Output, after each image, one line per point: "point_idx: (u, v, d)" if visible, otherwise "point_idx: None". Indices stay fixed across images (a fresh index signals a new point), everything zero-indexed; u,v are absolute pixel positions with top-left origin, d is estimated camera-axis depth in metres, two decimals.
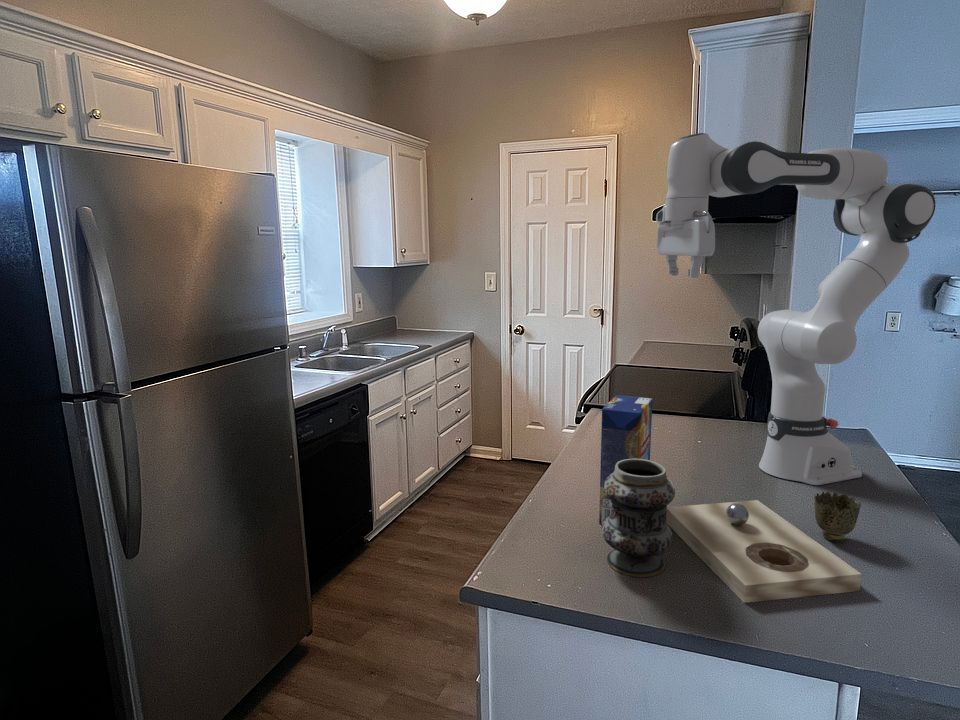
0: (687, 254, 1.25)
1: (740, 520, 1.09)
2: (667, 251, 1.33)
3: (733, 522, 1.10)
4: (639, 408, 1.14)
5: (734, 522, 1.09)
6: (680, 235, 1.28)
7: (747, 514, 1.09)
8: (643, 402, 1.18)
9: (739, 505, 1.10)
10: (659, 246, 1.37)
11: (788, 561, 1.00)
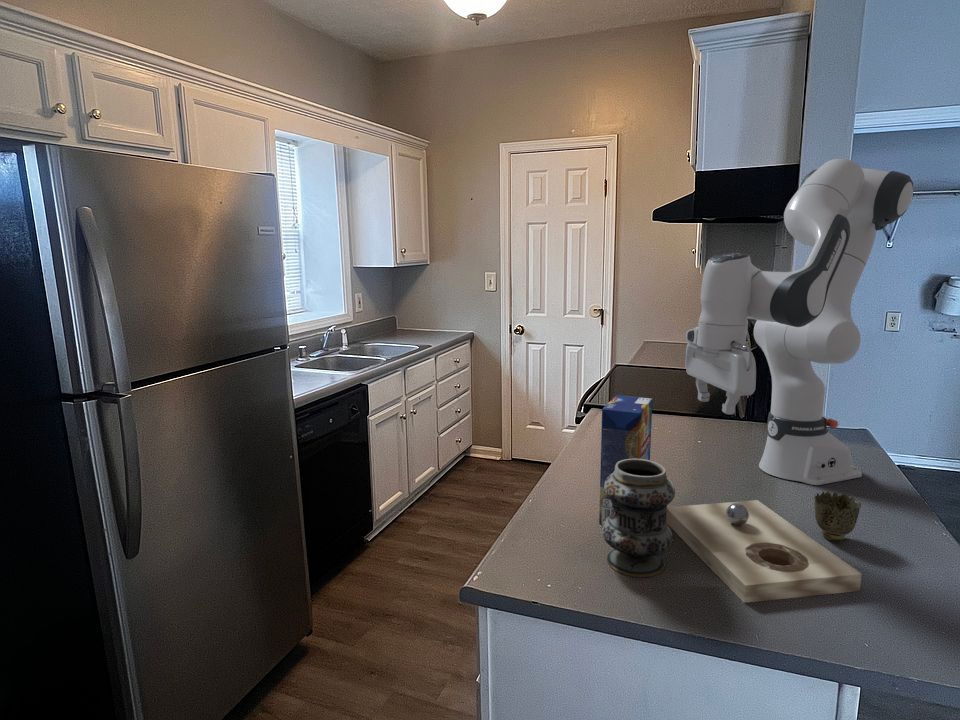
0: (722, 388, 1.10)
1: (740, 520, 1.09)
2: (697, 375, 1.19)
3: (733, 522, 1.10)
4: (639, 408, 1.14)
5: (734, 522, 1.09)
6: (714, 363, 1.13)
7: (747, 514, 1.09)
8: (643, 402, 1.18)
9: (739, 505, 1.10)
10: (688, 366, 1.23)
11: (788, 561, 1.00)
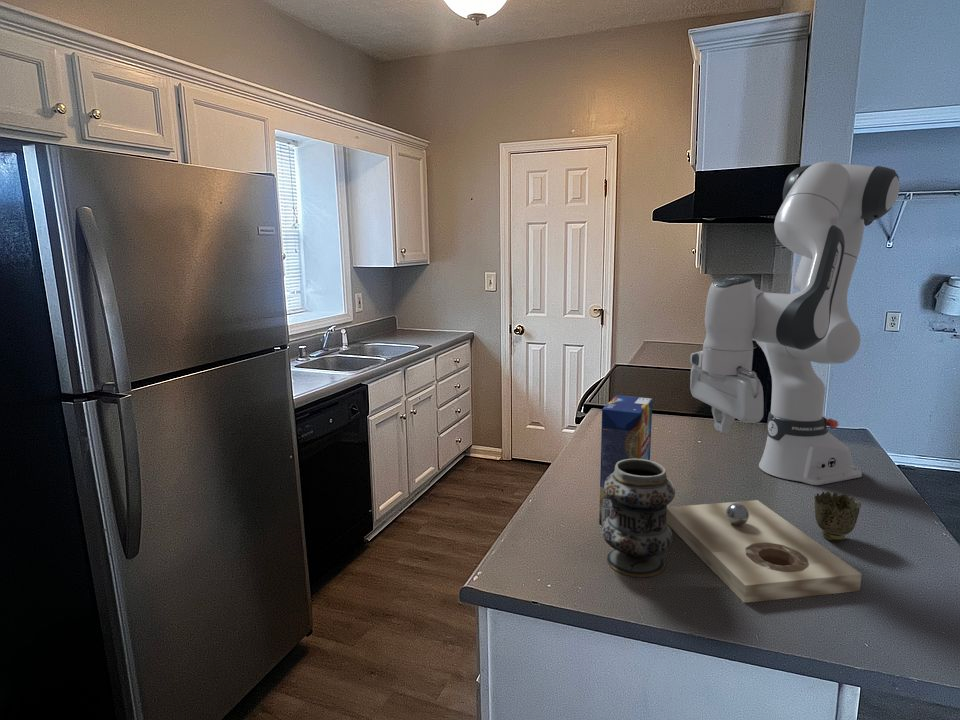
0: (729, 414, 1.09)
1: (740, 520, 1.09)
2: (703, 399, 1.17)
3: (733, 522, 1.10)
4: (639, 408, 1.14)
5: (734, 522, 1.09)
6: (720, 388, 1.12)
7: (747, 514, 1.09)
8: (643, 402, 1.18)
9: (739, 505, 1.10)
10: (693, 388, 1.21)
11: (788, 561, 1.00)
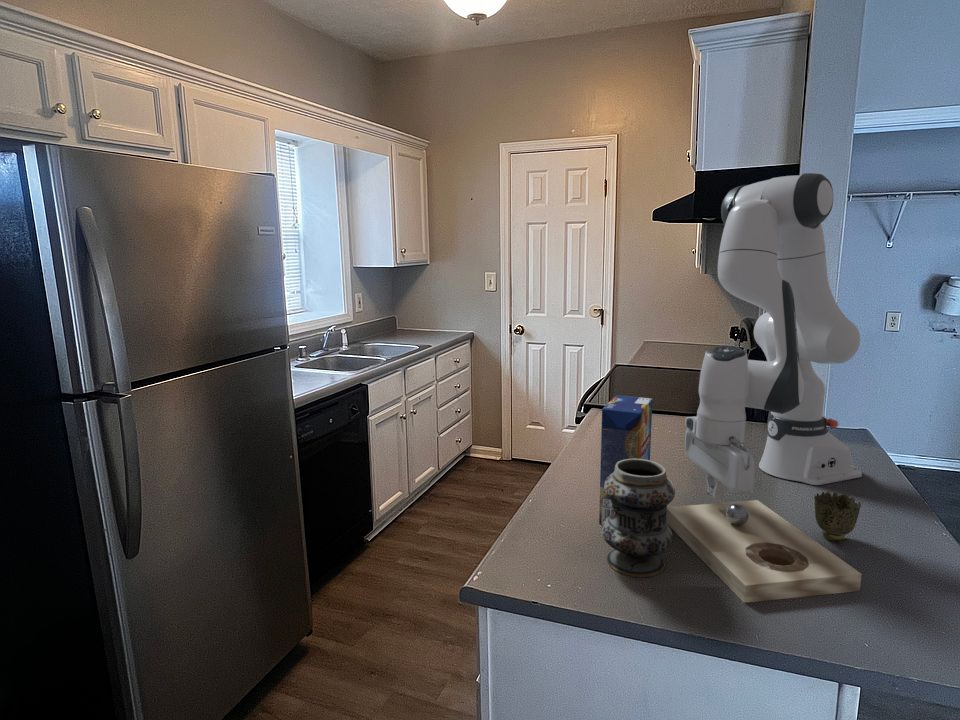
0: (721, 482, 1.11)
1: (740, 520, 1.09)
2: (697, 462, 1.20)
3: (733, 522, 1.10)
4: (639, 408, 1.14)
5: (734, 522, 1.09)
6: (713, 455, 1.14)
7: (747, 514, 1.09)
8: (643, 402, 1.18)
9: (739, 505, 1.10)
10: (688, 450, 1.24)
11: (788, 561, 1.00)
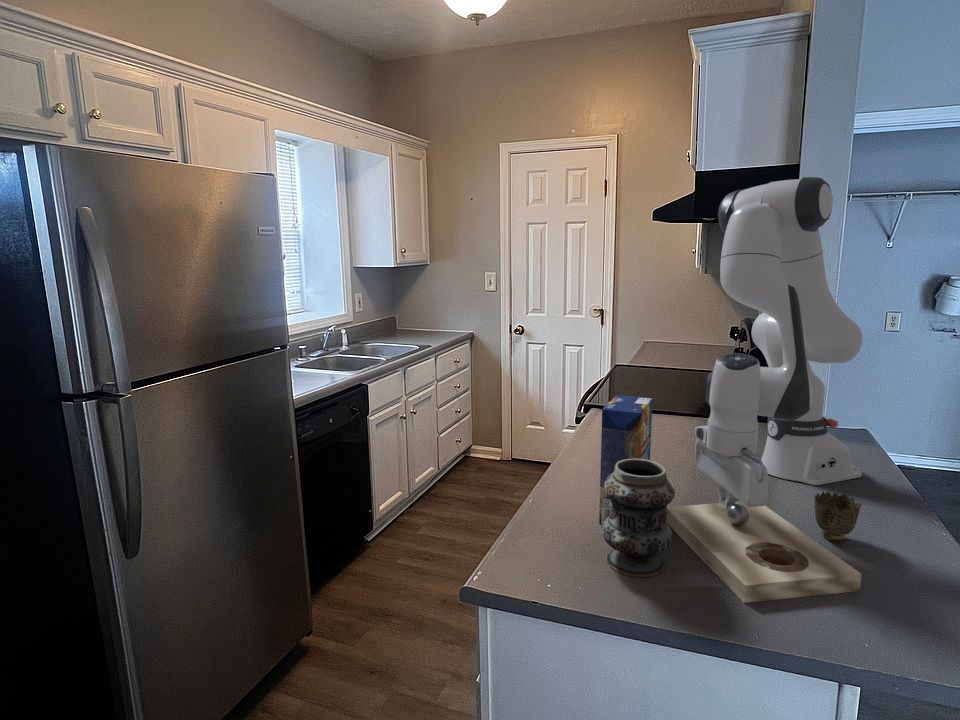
0: (734, 495, 1.08)
1: (740, 521, 1.08)
2: (708, 473, 1.17)
3: (733, 523, 1.09)
4: (639, 408, 1.14)
5: (734, 523, 1.09)
6: (725, 466, 1.11)
7: (747, 515, 1.09)
8: (643, 402, 1.18)
9: (740, 506, 1.09)
10: (698, 461, 1.20)
11: (788, 561, 1.00)
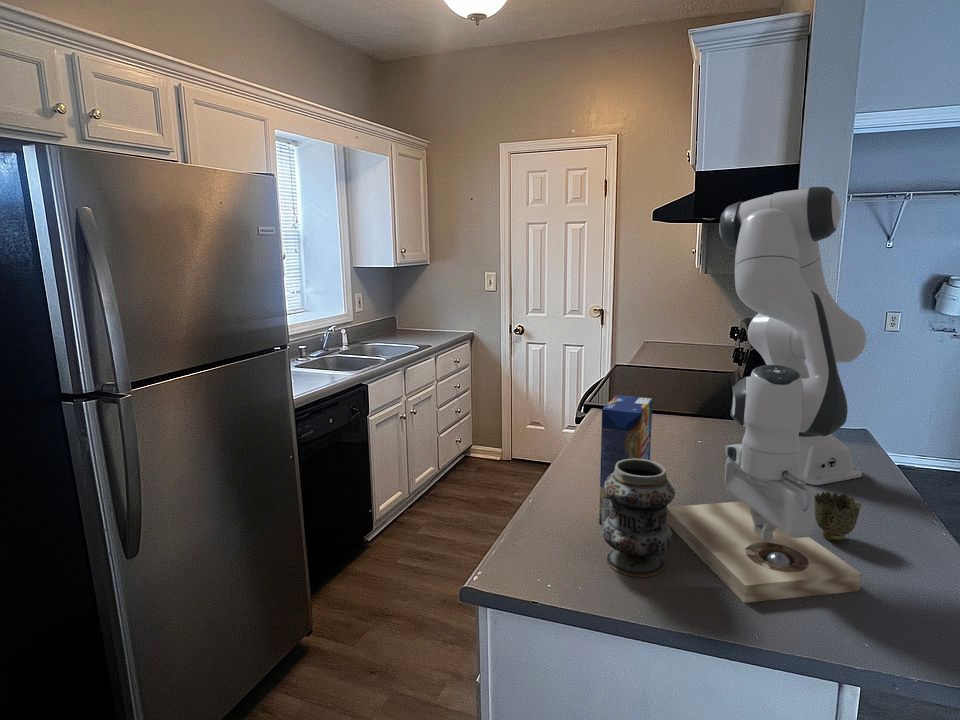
0: (773, 524, 0.96)
1: None
2: (741, 497, 1.05)
3: None
4: (639, 408, 1.14)
5: None
6: (761, 491, 1.00)
7: None
8: (643, 402, 1.18)
9: (785, 564, 0.97)
10: (728, 483, 1.09)
11: None
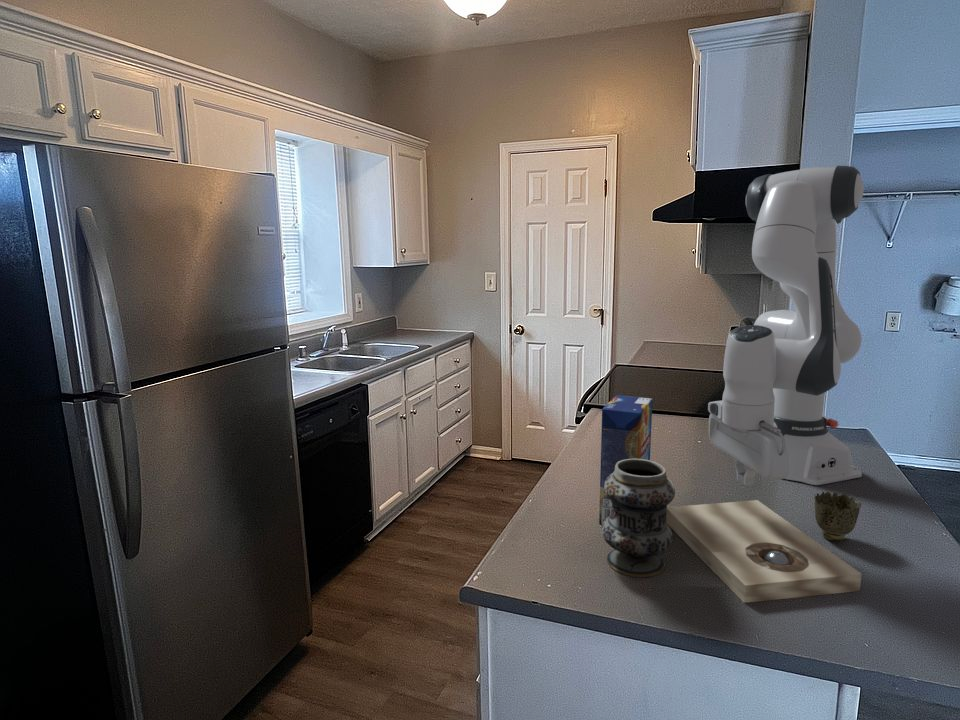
0: (753, 469, 1.06)
1: None
2: (724, 449, 1.15)
3: None
4: (639, 408, 1.14)
5: None
6: (742, 441, 1.09)
7: None
8: (643, 402, 1.18)
9: (783, 561, 0.97)
10: (712, 437, 1.18)
11: None
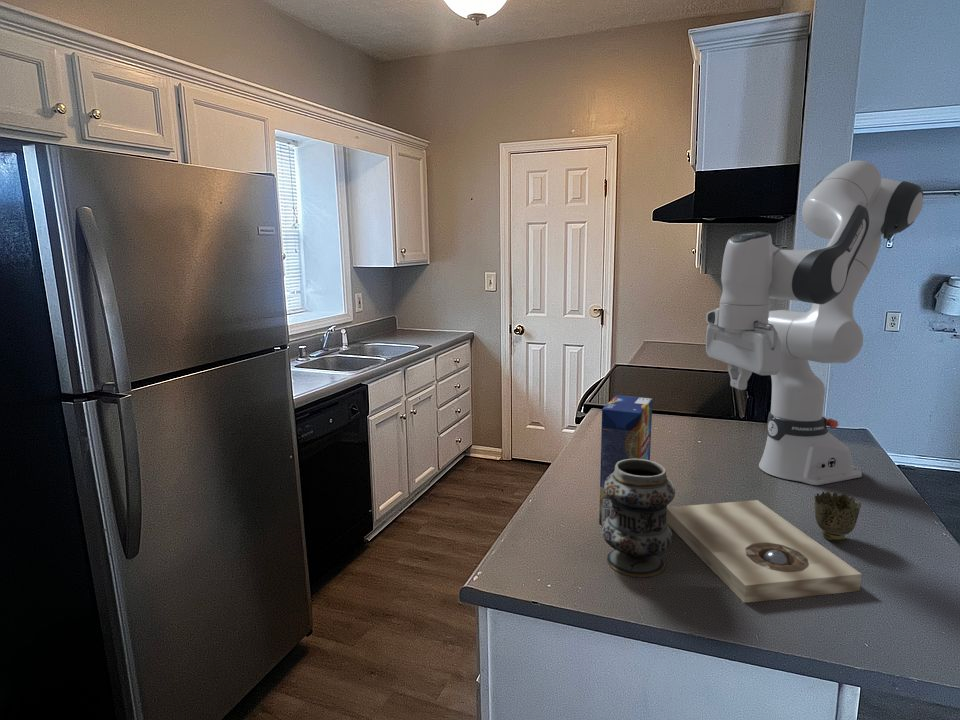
0: (746, 369, 1.09)
1: None
2: (719, 357, 1.18)
3: None
4: (639, 408, 1.14)
5: None
6: (736, 344, 1.13)
7: None
8: (643, 402, 1.18)
9: (781, 558, 0.98)
10: (709, 348, 1.22)
11: (788, 561, 1.00)
